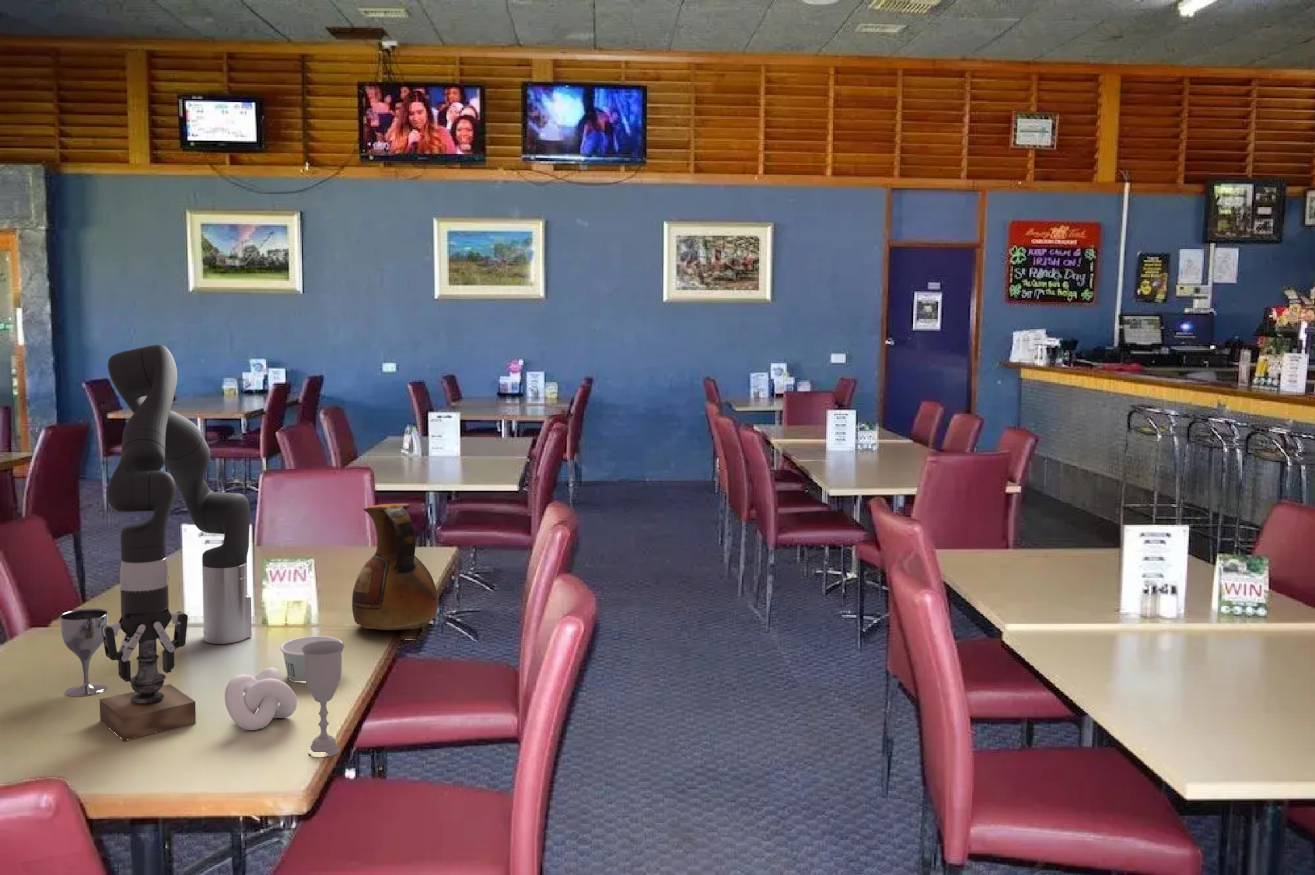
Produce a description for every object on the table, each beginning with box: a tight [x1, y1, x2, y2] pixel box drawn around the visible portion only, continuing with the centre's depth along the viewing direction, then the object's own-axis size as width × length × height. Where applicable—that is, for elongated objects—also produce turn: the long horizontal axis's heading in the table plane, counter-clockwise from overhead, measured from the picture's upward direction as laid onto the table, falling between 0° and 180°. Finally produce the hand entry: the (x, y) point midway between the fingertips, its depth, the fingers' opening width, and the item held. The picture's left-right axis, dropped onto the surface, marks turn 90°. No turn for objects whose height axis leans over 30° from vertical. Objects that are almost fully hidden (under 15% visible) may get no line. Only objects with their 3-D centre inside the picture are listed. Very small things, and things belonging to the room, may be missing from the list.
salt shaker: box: [128, 639, 167, 703], centre depth 180 cm, size 6×6×12 cm
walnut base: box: [99, 683, 197, 741], centre depth 181 cm, size 12×12×4 cm
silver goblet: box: [59, 608, 109, 698], centre depth 195 cm, size 8×8×15 cm
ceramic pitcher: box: [351, 503, 439, 631], centre depth 240 cm, size 20×20×30 cm
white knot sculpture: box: [224, 666, 298, 731], centre depth 182 cm, size 11×12×9 cm
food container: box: [279, 635, 343, 681], centre depth 207 cm, size 12×12×6 cm
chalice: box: [301, 641, 345, 758], centre depth 170 cm, size 7×7×18 cm
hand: (146, 675), depth 180 cm, fingers open, 6 cm apart
